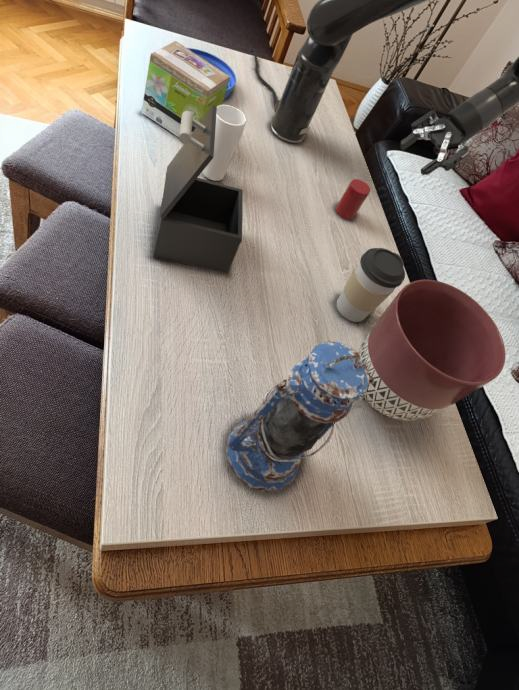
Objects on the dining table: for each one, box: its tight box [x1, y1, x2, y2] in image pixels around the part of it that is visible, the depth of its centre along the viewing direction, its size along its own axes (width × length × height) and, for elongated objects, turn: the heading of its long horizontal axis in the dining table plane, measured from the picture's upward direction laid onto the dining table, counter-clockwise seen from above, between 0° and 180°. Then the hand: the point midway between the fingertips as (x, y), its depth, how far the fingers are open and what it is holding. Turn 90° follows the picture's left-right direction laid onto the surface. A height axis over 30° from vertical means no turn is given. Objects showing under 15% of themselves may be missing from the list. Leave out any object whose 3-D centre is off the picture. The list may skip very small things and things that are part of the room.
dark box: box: [152, 177, 244, 274], centre depth 96 cm, size 15×14×10 cm
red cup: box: [335, 178, 371, 221], centre depth 118 cm, size 5×5×8 cm
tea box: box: [141, 40, 230, 138], centre depth 113 cm, size 15×10×15 cm, turn 62°
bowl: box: [186, 47, 237, 100], centre depth 131 cm, size 18×18×4 cm
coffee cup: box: [336, 247, 406, 323], centre depth 98 cm, size 9×9×15 cm
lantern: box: [225, 340, 374, 493], centre depth 68 cm, size 15×12×30 cm
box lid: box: [159, 105, 217, 219], centre depth 84 cm, size 15×14×5 cm
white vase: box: [201, 104, 247, 182], centre depth 107 cm, size 7×7×15 cm
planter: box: [357, 279, 506, 422], centre depth 86 cm, size 20×20×21 cm
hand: (411, 159), depth 116 cm, fingers open, 8 cm apart
